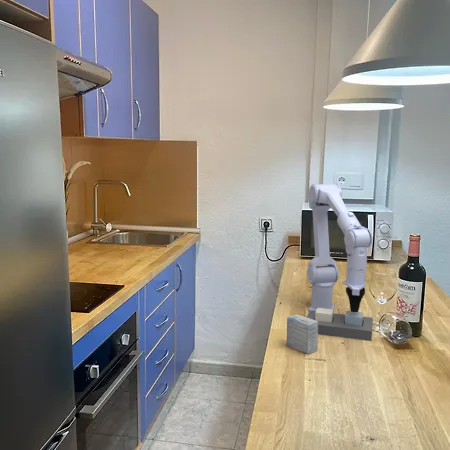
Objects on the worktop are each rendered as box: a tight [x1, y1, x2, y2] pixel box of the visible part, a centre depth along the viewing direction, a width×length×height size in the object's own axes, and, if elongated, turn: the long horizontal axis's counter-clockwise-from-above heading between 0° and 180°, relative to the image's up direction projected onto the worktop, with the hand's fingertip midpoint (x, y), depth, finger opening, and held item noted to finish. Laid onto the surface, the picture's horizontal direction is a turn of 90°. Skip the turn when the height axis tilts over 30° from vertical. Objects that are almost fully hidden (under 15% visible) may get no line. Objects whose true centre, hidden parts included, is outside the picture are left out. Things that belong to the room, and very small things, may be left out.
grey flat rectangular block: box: [306, 310, 374, 342], centre depth 145 cm, size 12×20×3 cm, turn 71°
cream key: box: [315, 308, 334, 323], centre depth 147 cm, size 5×5×3 cm
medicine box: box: [286, 314, 319, 355], centre depth 131 cm, size 8×4×9 cm, turn 41°
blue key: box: [344, 310, 364, 326], centre depth 144 cm, size 5×5×3 cm
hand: (354, 311), depth 143 cm, fingers closed
